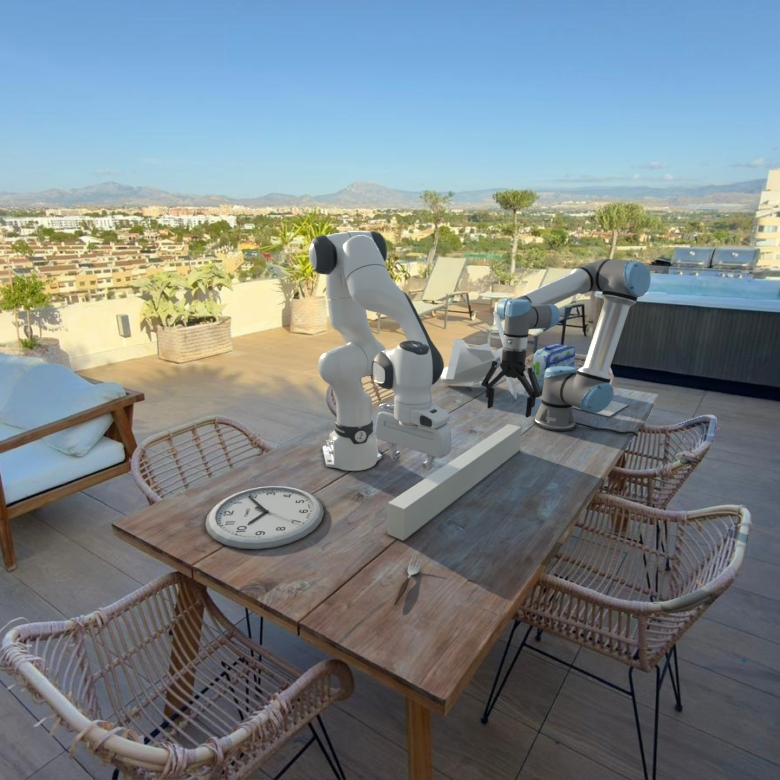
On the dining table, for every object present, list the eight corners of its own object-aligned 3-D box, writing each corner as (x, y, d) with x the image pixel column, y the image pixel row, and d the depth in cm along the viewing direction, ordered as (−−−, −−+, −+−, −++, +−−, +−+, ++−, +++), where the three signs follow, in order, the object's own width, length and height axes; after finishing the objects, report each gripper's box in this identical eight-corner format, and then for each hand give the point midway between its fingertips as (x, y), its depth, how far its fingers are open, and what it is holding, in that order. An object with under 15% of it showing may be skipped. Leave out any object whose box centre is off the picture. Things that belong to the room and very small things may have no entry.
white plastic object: (461, 429, 252) (437, 405, 227) (444, 352, 274) (420, 323, 250) (535, 404, 240) (518, 377, 215) (510, 326, 262) (492, 293, 237)
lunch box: (547, 396, 238) (552, 351, 232) (526, 391, 246) (531, 347, 239) (574, 385, 256) (579, 343, 250) (554, 380, 263) (559, 340, 257)
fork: (388, 605, 105) (388, 597, 104) (412, 560, 119) (412, 553, 119) (400, 609, 104) (400, 600, 104) (423, 563, 119) (423, 555, 118)
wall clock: (321, 540, 123) (190, 545, 121) (321, 546, 124) (191, 551, 121) (325, 481, 152) (219, 484, 149) (325, 486, 152) (220, 489, 150)
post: (506, 447, 183) (508, 423, 180) (519, 450, 180) (521, 426, 178) (387, 534, 130) (388, 502, 127) (403, 540, 127) (404, 509, 125)
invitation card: (608, 416, 214) (573, 407, 224) (608, 416, 214) (573, 408, 224) (628, 404, 229) (594, 396, 238) (628, 405, 229) (594, 397, 238)
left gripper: (369, 404, 127) (369, 456, 131) (441, 423, 115) (439, 480, 120) (385, 398, 132) (384, 448, 136) (456, 416, 120) (453, 470, 124)
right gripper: (474, 345, 171) (469, 406, 177) (548, 357, 156) (540, 423, 163) (484, 341, 176) (480, 401, 183) (557, 352, 162) (549, 417, 168)
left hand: (410, 463), depth 128 cm, fingers open, 8 cm apart
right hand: (508, 411), depth 173 cm, fingers open, 13 cm apart
